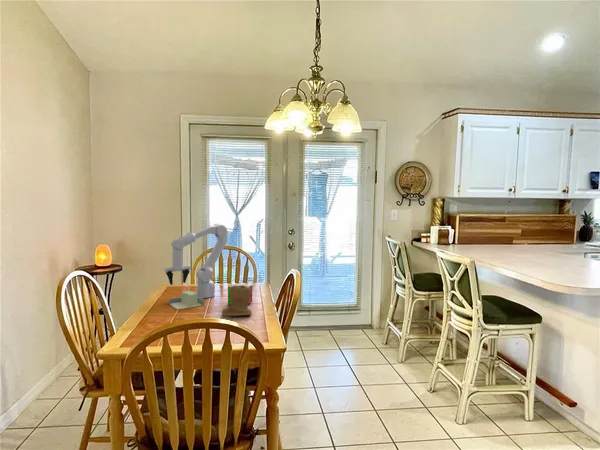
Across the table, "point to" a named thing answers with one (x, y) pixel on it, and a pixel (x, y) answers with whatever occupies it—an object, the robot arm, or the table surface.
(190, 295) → the green block
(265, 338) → the table surface
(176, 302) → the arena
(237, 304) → the brown boot
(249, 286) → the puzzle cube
